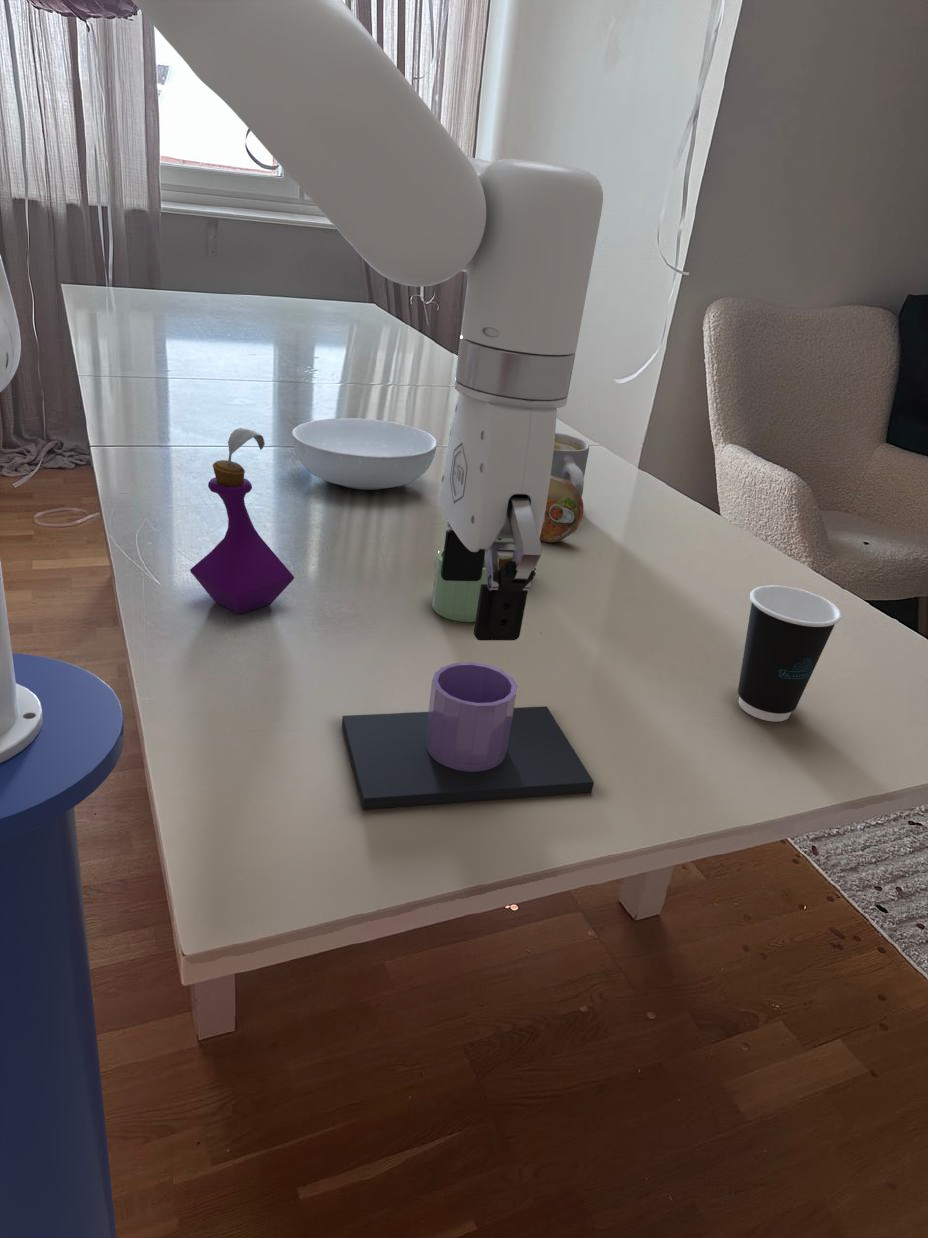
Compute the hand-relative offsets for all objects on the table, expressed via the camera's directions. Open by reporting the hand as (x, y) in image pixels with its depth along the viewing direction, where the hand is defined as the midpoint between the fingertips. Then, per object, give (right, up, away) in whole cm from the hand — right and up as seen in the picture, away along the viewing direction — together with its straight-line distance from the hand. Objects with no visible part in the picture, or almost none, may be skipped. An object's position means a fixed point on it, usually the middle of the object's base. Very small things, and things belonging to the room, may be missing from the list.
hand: (477, 607), depth 66 cm
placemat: (-1, -12, +6) cm, 13 cm away
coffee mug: (+11, +14, +63) cm, 66 cm away
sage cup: (-1, 0, +31) cm, 31 cm away
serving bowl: (-16, +19, +67) cm, 71 cm away
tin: (+7, +11, +55) cm, 56 cm away
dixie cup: (+27, -9, +19) cm, 35 cm away
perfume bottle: (-24, +1, +26) cm, 35 cm away
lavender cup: (-1, -11, +5) cm, 12 cm away
